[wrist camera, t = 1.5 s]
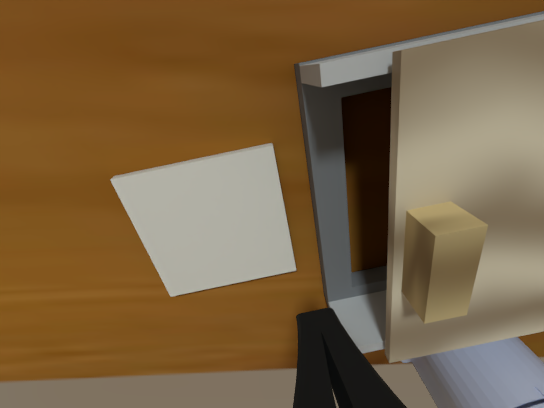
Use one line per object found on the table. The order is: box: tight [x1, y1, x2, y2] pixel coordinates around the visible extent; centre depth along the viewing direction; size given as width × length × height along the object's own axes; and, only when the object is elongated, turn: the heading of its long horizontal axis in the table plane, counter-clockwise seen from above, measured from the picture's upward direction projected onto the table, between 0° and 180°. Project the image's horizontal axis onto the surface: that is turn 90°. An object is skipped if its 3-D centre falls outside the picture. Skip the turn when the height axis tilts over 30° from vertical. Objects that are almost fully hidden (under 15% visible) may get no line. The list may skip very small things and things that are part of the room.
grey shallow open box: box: [294, 11, 544, 353], centre depth 16 cm, size 18×25×6 cm
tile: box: [110, 143, 296, 297], centre depth 18 cm, size 10×10×1 cm
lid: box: [385, 20, 544, 363], centre depth 12 cm, size 18×13×3 cm
